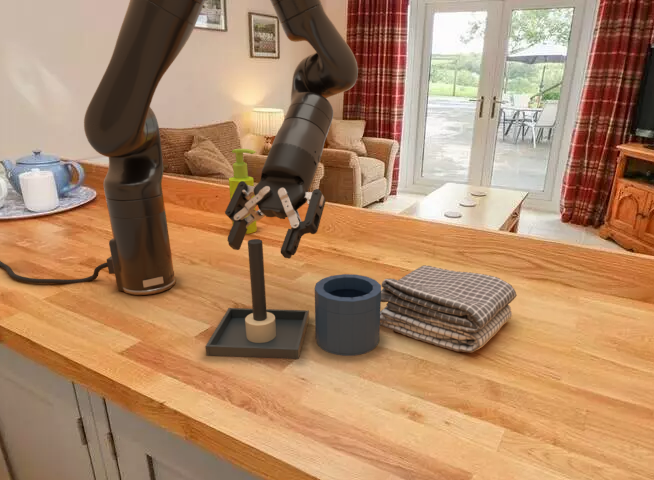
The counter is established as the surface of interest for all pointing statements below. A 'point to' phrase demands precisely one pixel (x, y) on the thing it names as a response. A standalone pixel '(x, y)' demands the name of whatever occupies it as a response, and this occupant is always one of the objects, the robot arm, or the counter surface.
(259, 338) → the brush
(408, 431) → the counter surface
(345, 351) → the dark gray pen holder
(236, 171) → the soap dispenser
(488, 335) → the towel
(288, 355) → the tray
